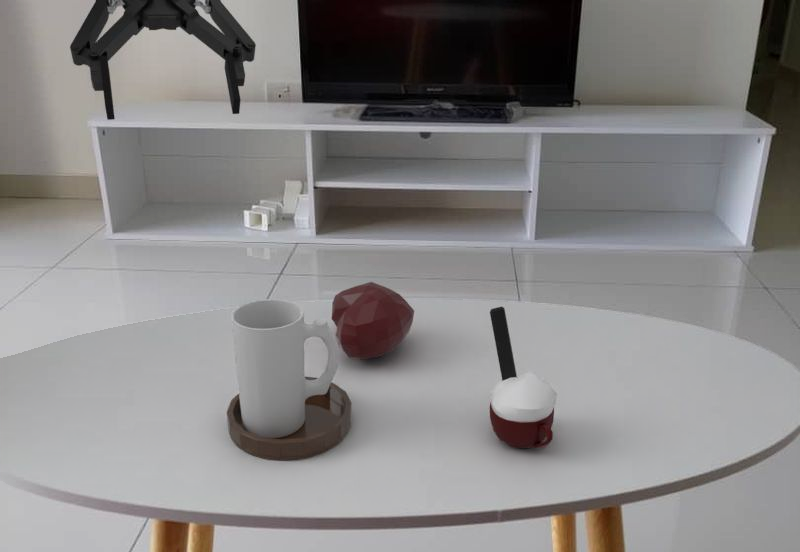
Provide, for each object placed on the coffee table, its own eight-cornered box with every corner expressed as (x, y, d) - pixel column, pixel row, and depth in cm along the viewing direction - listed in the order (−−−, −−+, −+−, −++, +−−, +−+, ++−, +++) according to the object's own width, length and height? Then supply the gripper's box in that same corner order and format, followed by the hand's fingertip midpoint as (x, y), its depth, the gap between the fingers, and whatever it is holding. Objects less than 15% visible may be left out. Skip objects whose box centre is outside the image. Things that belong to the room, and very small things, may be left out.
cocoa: (561, 463, 70) (575, 350, 66) (495, 465, 70) (504, 351, 65) (537, 408, 79) (548, 305, 74) (478, 409, 79) (485, 306, 74)
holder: (238, 471, 68) (237, 453, 68) (221, 402, 79) (220, 385, 78) (366, 447, 72) (366, 429, 71) (333, 383, 83) (333, 368, 82)
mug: (238, 444, 72) (229, 331, 67) (239, 406, 78) (231, 301, 73) (343, 434, 73) (341, 324, 69) (336, 398, 79) (334, 295, 75)
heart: (407, 316, 97) (332, 331, 96) (401, 262, 94) (323, 277, 93) (428, 363, 86) (344, 380, 85) (422, 304, 83) (334, 321, 82)
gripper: (35, -65, 83) (47, 93, 76) (259, -59, 91) (289, 85, 84) (46, -15, 90) (58, 134, 83) (254, -14, 98) (282, 123, 91)
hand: (174, 110), depth 83 cm, fingers open, 13 cm apart
